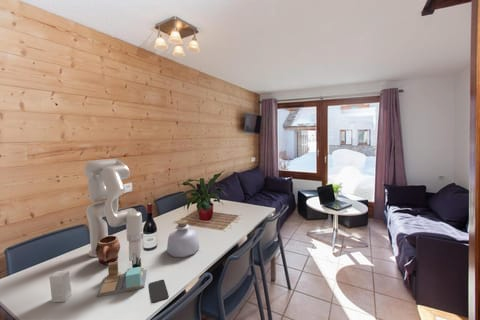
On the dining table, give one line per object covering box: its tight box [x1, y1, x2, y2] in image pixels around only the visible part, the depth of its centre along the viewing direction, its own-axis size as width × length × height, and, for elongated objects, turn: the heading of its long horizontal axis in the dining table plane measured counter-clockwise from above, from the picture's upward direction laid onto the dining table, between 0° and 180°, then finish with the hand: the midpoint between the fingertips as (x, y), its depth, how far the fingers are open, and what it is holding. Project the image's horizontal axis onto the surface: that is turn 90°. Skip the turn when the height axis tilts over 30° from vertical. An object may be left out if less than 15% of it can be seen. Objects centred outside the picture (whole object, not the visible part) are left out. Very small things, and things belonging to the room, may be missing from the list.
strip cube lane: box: [126, 257, 145, 290], centre depth 114 cm, size 15×6×7 cm, turn 18°
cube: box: [126, 266, 142, 288], centre depth 110 cm, size 6×6×6 cm
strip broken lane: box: [104, 260, 122, 284], centre depth 114 cm, size 7×6×7 cm
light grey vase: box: [166, 219, 200, 258], centre depth 145 cm, size 20×20×19 cm
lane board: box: [96, 269, 148, 297], centre depth 113 cm, size 14×20×2 cm
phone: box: [148, 279, 170, 304], centre depth 107 cm, size 7×1×15 cm
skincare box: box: [48, 270, 73, 303], centre depth 102 cm, size 6×4×12 cm
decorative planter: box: [96, 234, 121, 266], centre depth 131 cm, size 20×12×14 cm, turn 25°
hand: (137, 269), depth 120 cm, fingers closed on strip cube lane, 2 cm apart
